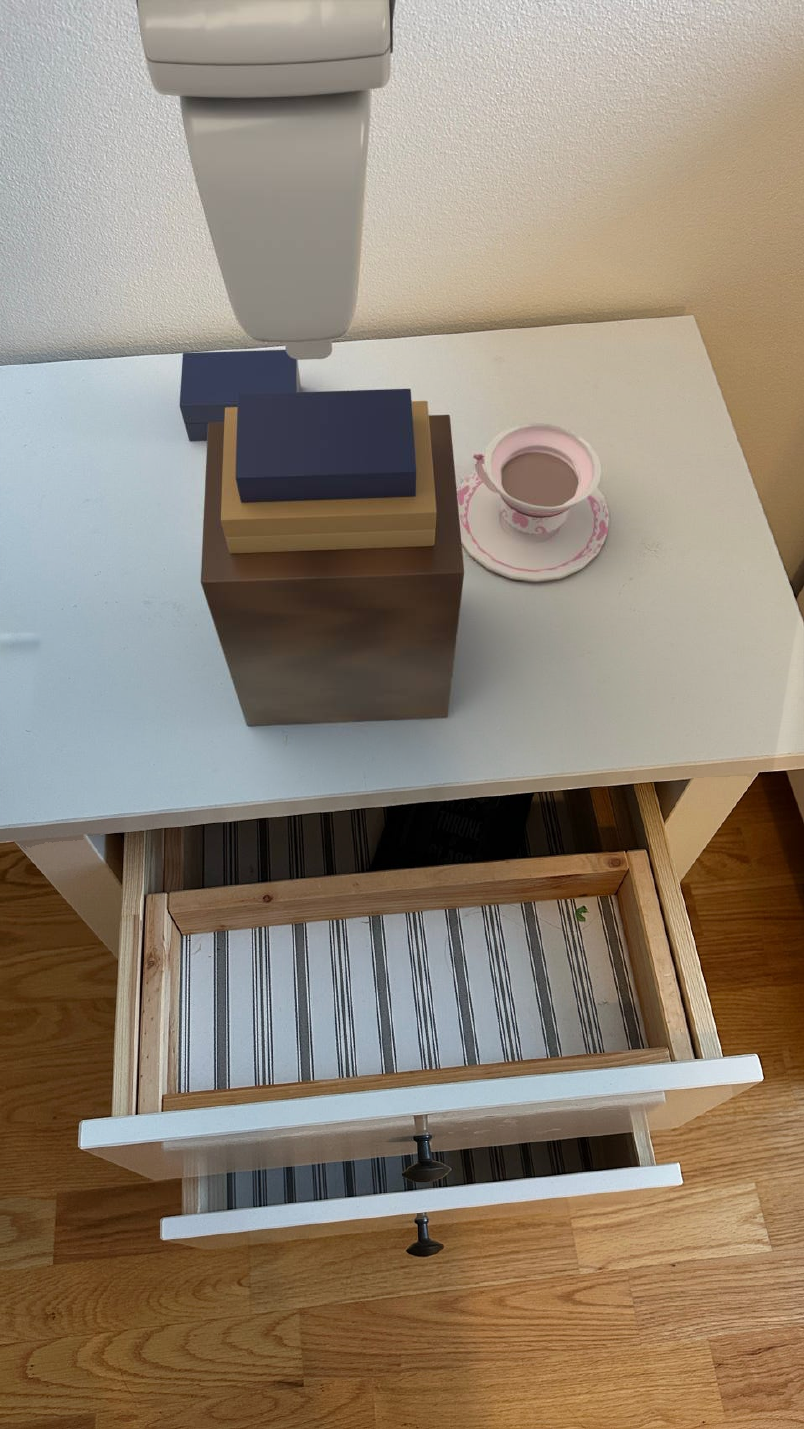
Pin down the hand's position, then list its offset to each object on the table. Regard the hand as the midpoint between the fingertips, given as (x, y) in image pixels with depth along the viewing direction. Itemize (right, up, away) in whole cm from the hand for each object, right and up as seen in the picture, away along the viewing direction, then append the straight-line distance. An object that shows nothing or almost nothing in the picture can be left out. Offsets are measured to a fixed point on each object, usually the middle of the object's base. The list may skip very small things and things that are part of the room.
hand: (308, 262), depth 41 cm
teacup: (+14, -4, +35) cm, 38 cm away
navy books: (-9, +6, +39) cm, 41 cm away
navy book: (0, -5, +11) cm, 12 cm away
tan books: (0, -7, +13) cm, 15 cm away
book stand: (0, -14, +30) cm, 33 cm away
